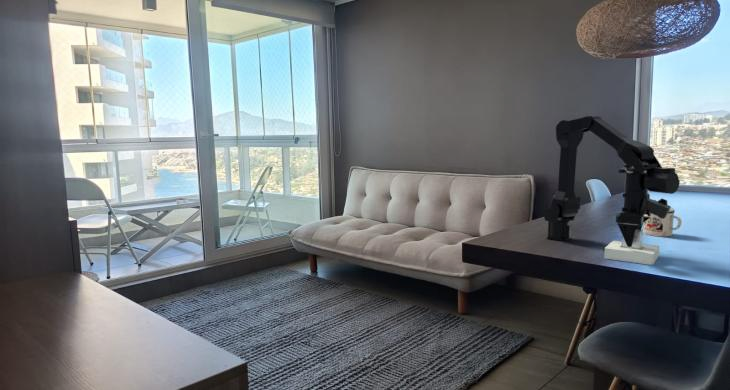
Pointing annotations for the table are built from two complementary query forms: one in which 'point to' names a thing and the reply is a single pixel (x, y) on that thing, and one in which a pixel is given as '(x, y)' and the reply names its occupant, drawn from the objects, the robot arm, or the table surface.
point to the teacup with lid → (661, 224)
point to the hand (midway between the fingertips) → (632, 243)
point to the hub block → (632, 253)
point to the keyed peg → (635, 240)
